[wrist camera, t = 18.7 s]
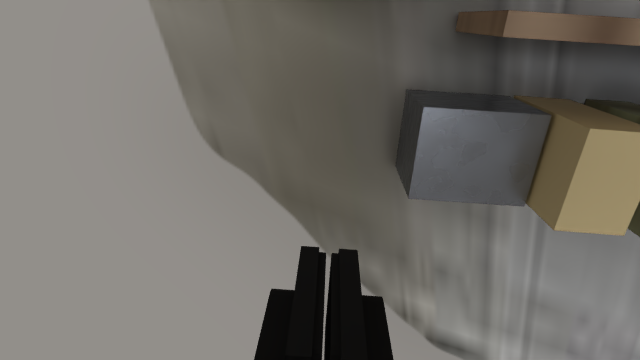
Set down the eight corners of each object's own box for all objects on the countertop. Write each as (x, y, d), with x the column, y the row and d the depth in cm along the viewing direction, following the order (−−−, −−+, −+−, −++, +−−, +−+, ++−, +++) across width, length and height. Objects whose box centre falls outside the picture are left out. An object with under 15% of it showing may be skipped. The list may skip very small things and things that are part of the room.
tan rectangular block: (569, 99, 28) (669, 134, 19) (544, 175, 30) (624, 235, 22) (514, 95, 28) (590, 128, 19) (493, 171, 30) (553, 230, 22)
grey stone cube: (508, 95, 28) (551, 115, 22) (489, 171, 30) (524, 206, 25) (406, 89, 28) (423, 107, 22) (395, 165, 30) (408, 198, 25)
